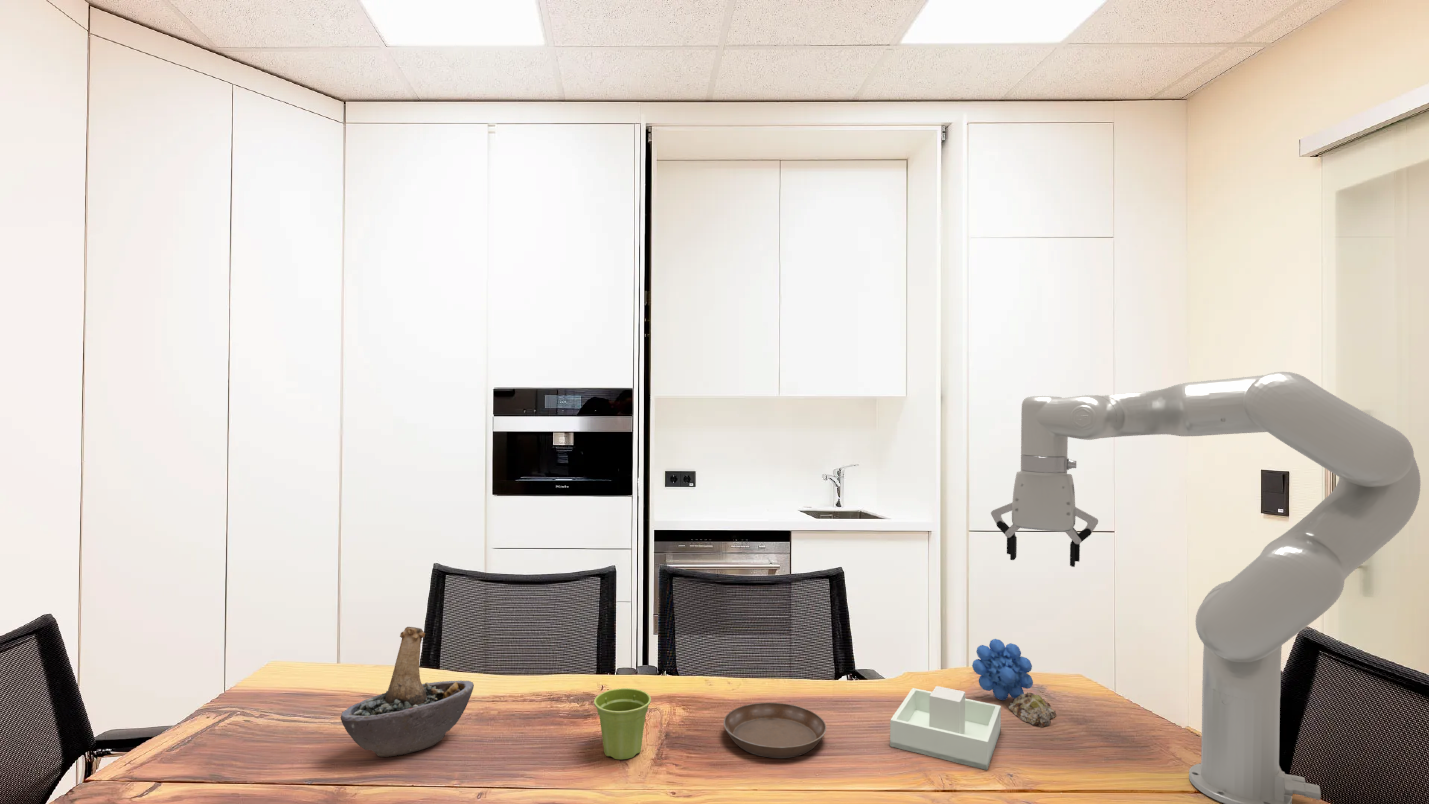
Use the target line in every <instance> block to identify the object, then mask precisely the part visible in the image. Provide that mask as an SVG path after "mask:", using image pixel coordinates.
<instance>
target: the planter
mask: <svg viewBox="0 0 1429 804" xmlns="http://www.w3.org/2000/svg"><path fill="white" fill-rule="evenodd" d="M425 636H426V633H425V632H424V630H423V629H422V628H420V627H414V626H407V627H405V628H404V630H402V631H401V632H400V634H399V637H400V638H401V641H400V646H399V649H398V653H397V656H396V660H395V664H394V669H393V671H392V676H391V680H390V683H389V686H388V688H387V690H386V692H384V693H382V694H378V695H375V696H373V697H371V698H367V699H363V700H362V701H360V702H358V703H355V704H353V705H350V706H349V707H348V708H347V709H346V710H344V711H342V712H341V716H340V720H341V721H340V722H341V723H342V725H343V727H344V729H345V731H346V733H347V734H348V735H349V736H350V737H351V738H352V740H353V742H355V743H356V744H357V745H358V746H360V747H361V748H363V749H364V750H365V751H372V752H374V753H375V754H376V755H377V756H378V757H380V758H384V757H385V758H386V757H387V758H388V757H389V756H390V757H396V756H397V755H398V756H402V755H403V754H404V755H407V754H411V753H415V752H420V751H422V750H424V749H425V750H426V749H427V748H429V747H432V746H435V745H436V744H437V743H438V742H441V741H443V739H444V737H445V736H446V734H447V732H449V731H450V730H451V729H452V728H453V727H454V726H455V725H456V724H458V722H459V720H460V718H461V717H462V715H463V714H464V712H465V710H466V708H467V706H468V704H469V701H470V698H471V697H472V693H473V691H474V685H475V684H474V683H473V682H474V681H473V682H472V681H471V680H445V681H444V680H443V681H434V682H425V683H422V681H421V675H420V659H421V644H422V641H423V639H424V638H425ZM390 757H389V758H390Z"/></svg>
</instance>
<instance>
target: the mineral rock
mask: <svg viewBox="0 0 1429 804" xmlns="http://www.w3.org/2000/svg"><path fill="white" fill-rule="evenodd" d="M1051 706H1052V705H1051V703H1049V702H1047V701H1046V700H1045V699H1044V698H1042V696H1041V695H1039V694H1035V693H1032V692H1026V693H1024V694H1021V695H1020V696H1018V697H1017V698H1016V699H1014V698H1013V702H1010V703H1009V706H1008V709H1009V710H1010V711H1011V712H1012V713H1013V714H1014V715H1015V716H1016V717H1018V718H1019V719H1020V720H1022V722H1025V723H1029V724H1030V725H1033V726H1036V727H1037V726H1038V727H1040V728H1044V727H1048V726H1049V725H1050V724H1051V721H1050V719H1052V718H1053V719H1054V718H1055V717H1056V715H1057V711H1056V710H1055V709H1053V708H1052V707H1051Z"/></svg>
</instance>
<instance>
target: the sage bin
mask: <svg viewBox="0 0 1429 804" xmlns="http://www.w3.org/2000/svg"><path fill="white" fill-rule="evenodd" d="M931 693H932V691H931V690H930V691H929V690H925V689H919V688H915V687H912V688H911V689H910V691H909V692H908V694H907V695H906V697H905V698H904V700H903V701H902V703H900V705H899V706H898V708H897V710H896V711H895V713H894V714H893V715H892V717H891V719H889V720H890V721H889V722H890V723H889V729H890V730H889V747H892V748H896V749H899V750H902V751H903V750H904V751H909V752H911V753H916V754H920V755H922V756H923V755H925V756H927V757H928V756H929V757H932V758H936V759H940V760H944V761H947V762H952V763H957V764H960V765H965V766H969V767H972V768H977V769H981V770H985V771H988V770H989V766H990V763H991V760H992V758H993V754H994V751H995V748H996V746H997V743H998V740H999V737H1000V734H1001V730H1002V729H1001V727H1002V723H1001V720H1002V719H1001V717H1002V716H1001V715H1002V714H1001V713H1002V705H999V704H994V703H989V702H984V701H979V700H974V699H969V698H965V732H964V734H960V733H955V732H951V731H947V730H942V729H938V728H933V727H929V706H930V694H931Z"/></svg>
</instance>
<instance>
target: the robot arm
mask: <svg viewBox="0 0 1429 804" xmlns="http://www.w3.org/2000/svg"><path fill="white" fill-rule="evenodd" d="M1020 421H1021V426H1020V427H1021V428H1020V434H1021V435H1020V438H1021V440H1020V471H1019V470H1018V471H1016V475H1015V479H1014V484H1013V485H1014V486H1013V493H1012V502H1009V503H1008V504H1005V505H1002V506H1000V507H998V508H995V509H993V510H991V512H990V516H991V517H992V518H993V520H994V523H995V524H996V527H997V528H998V529H999V530H1000V531H1001V532H1002V533H1003V534H1004V536H1005V537H1006V555H1009V557H1010V558H1009V560H1010V561H1015V560H1016V558H1017V553H1018V552H1017V551H1018V550H1017V546H1018V545H1017V542H1018V541H1017V538H1018V537H1017V536H1016V532H1018V530H1020V529H1026V530H1036V531H1046V532H1058V533H1059V532H1060V533H1066V535H1067V536H1068V537H1069V539H1071V541H1070V544H1069V566H1070V567H1072V568H1075V566H1076V562H1079V563H1080V558H1081V557H1080V556H1081V555H1080V551H1081V545H1080V544H1081V543H1083V541H1085V540H1086V539H1087V538H1089V537H1090V536H1091V535H1092V533H1093V531H1094V530H1095V529H1096V527H1097V525H1098V523H1099V519H1098V518H1097V517H1095V516H1093V515H1091V514H1090V513H1087V512H1086V511H1084V510H1082V509H1080V508H1078V507H1076V495H1075V494H1076V493H1075V492H1076V490H1075V484H1074V479H1073V475H1072V474H1070V473H1068V471H1069V470H1072V469H1077V460H1072V459H1070V458H1068V441H1069V440H1068V438H1073V439H1078V440H1083V441H1085V440H1087V441H1088V440H1089V441H1091V440H1099V439H1106V438H1120V437H1133V436H1134V437H1135V436H1136V437H1137V436H1155V435H1158V436H1159V435H1167V436H1168V435H1171V436H1177V437H1203V436H1206V437H1207V436H1218V435H1219V436H1220V435H1238V434H1240V435H1241V434H1254V433H1269V434H1270V435H1271V436H1273V437H1275V439H1278V441H1280V442H1282V443H1283V444H1285V445H1287V446H1288V447H1290V448H1292V449H1293V450H1295V451H1297V452H1298V453H1299V454H1302V455H1303V456H1304V457H1306V458H1308V459H1310V460H1311V461H1313V462H1315V463H1316V464H1317V465H1319V466H1320V467H1323V468H1324V469H1326V470H1327V471H1329V472H1331V474H1334V475H1335V476H1337V477H1338V478H1339V479H1338V481H1337V484H1336V485H1335V487H1334V488H1333V490H1332V492H1330V494H1328V496H1327V497H1325V498H1324V499H1322V501H1321V502H1320V503H1318V504H1317V505H1316V506H1315V507H1314V508H1313V509H1312V510H1311V511H1310V512H1309V513H1308V514H1307V515H1306V516H1304V517H1303V518H1302V519H1301V520H1300V521H1298V522H1297V523H1296V524H1295V525H1293V526H1292V527H1291V528H1290V529H1288V530H1287V531H1286V532H1284V533H1283V534H1281V535H1280V536H1278V537H1277V538H1275V539H1274V540H1272V541H1270V542H1269V543H1268V544H1267V545H1266V546H1265V547H1264V548H1263V550H1261V552H1260V554H1259V555H1258V556H1257V557H1256V558H1255V559H1254V560H1253V561H1252V562H1250V564H1247V566H1246V567H1245V568H1244V569H1242V570H1241V571H1240V572H1239V573H1237V574H1236V575H1235V576H1234V577H1233V578H1232V579H1230V581H1224V582H1221V583H1219V584H1218V585H1216V586H1214V587H1213V588H1212V589H1211V590H1210V591H1208V593H1207V595H1206V596H1205V597H1204V598H1203V600H1202V602H1201V604H1200V606H1199V607H1198V609H1197V612H1196V614H1195V629H1196V632H1197V635H1198V637H1199V640H1200V641H1201V643H1202V644H1203V649H1202V650H1203V652H1202V654H1203V655H1202V681H1201V684H1202V685H1201V686H1202V688H1201V691H1202V692H1201V695H1202V696H1201V703H1202V704H1201V753H1200V754H1201V760H1200V763H1196V764H1193V765H1192V766H1191V767H1189V770H1188V779H1189V781H1190V783H1191V785H1193V786H1194V787H1195V788H1196V789H1197V790H1199V792H1201V793H1203V795H1205V796H1207V797H1209V798H1211V799H1213V800H1215V801H1217V802H1219V803H1221V804H1222V803H1223V804H1292V803H1293V796H1294V795H1298V796H1303V797H1305V798H1309V799H1314V800H1318V801H1320V800H1321V797H1322V795H1321V787H1320V785H1318V784H1314V783H1309V782H1306V779H1305V776H1304V777H1303V776H1298V775H1294V774H1293V775H1292V774H1287V773H1286V772H1285V771H1283V770H1282V768H1281V766H1280V724H1281V723H1280V721H1281V720H1280V718H1281V715H1280V714H1281V711H1280V710H1281V709H1280V708H1281V683H1282V682H1281V679H1282V678H1281V677H1282V675H1281V674H1282V649H1283V647H1282V646H1283V645H1285V644H1286V643H1287V642H1288V641H1289V640H1291V639H1292V638H1293V637H1295V636H1296V635H1298V634H1299V633H1300V632H1301V631H1303V630H1304V629H1305V628H1307V627H1308V626H1310V624H1312V623H1313V622H1314V621H1316V620H1317V619H1318V618H1320V617H1321V616H1322V615H1323V614H1325V613H1326V612H1327V611H1329V609H1330V608H1332V607H1333V605H1334V604H1335V603H1337V601H1338V600H1339V598H1340V597H1341V595H1342V593H1343V590H1344V586H1345V580H1346V579H1347V578H1348V577H1349V576H1350V575H1351V574H1352V573H1353V572H1355V571H1356V570H1357V569H1358V568H1359V567H1360V566H1362V565H1363V564H1364V563H1365V562H1367V561H1368V560H1369V559H1370V558H1372V557H1373V556H1374V555H1375V554H1376V553H1377V552H1378V551H1380V550H1381V549H1382V548H1383V547H1385V545H1386V544H1387V543H1389V542H1390V541H1391V540H1392V539H1393V538H1395V536H1396V535H1398V534H1399V532H1401V531H1402V530H1403V529H1404V527H1405V526H1406V525H1407V524H1408V522H1409V521H1410V519H1411V518H1412V516H1413V514H1414V513H1415V510H1416V508H1417V506H1418V503H1419V499H1420V496H1421V495H1420V494H1421V475H1420V474H1421V473H1420V470H1419V466H1418V463H1417V461H1416V459H1415V452H1414V448H1413V446H1412V444H1411V442H1410V440H1409V439H1408V438H1407V436H1405V435H1404V434H1403V433H1402V432H1401V431H1399V430H1398V429H1396V428H1395V427H1393V426H1390V425H1389V424H1387V423H1385V422H1383V421H1381V420H1379V419H1378V418H1376V417H1373V415H1371V414H1368V413H1366V412H1365V411H1363V410H1362V409H1359V408H1357V407H1356V406H1354V405H1352V404H1350V403H1348V402H1347V401H1345V400H1343V399H1341V398H1339V397H1338V396H1336V395H1334V394H1333V393H1331V392H1329V391H1327V390H1326V389H1324V388H1322V387H1321V386H1319V385H1318V384H1316V383H1314V382H1313V381H1311V380H1310V379H1308V378H1307V377H1305V376H1303V375H1302V374H1298V373H1295V372H1290V371H1276V372H1271V373H1267V374H1264V375H1263V374H1262V375H1253V376H1252V375H1251V376H1243V377H1234V378H1225V379H1213V380H1203V381H1202V380H1201V381H1191V382H1182V383H1179V384H1175V385H1171V386H1169V387H1166V388H1161V389H1157V390H1156V389H1155V390H1150V391H1149V390H1148V391H1142V392H1141V391H1140V392H1130V393H1121V394H1119V393H1117V394H1107V395H1106V394H1105V395H1098V394H1097V395H1093V394H1091V395H1090V394H1088V395H1086V394H1085V395H1076V396H1069V397H1061V396H1051V395H1049V396H1046V395H1044V396H1043V395H1042V396H1035V395H1034V396H1028V397H1025V398H1023V400H1022V403H1021V420H1020ZM1009 512H1011V522H1012V525H1010V526H1009V525H1008V524H1007V523H1006V522H1005V521H1004V519H1003V517H1002V515H1005V514H1007V513H1009ZM1076 517H1077V518H1079V519H1080V520H1082V521H1084V522H1085V523H1087V524H1086V526H1085V528H1083V529H1082V530H1081V531H1080V532H1078V531H1077V530H1076V528H1075V525H1076ZM1293 794H1294V795H1293Z"/></svg>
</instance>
